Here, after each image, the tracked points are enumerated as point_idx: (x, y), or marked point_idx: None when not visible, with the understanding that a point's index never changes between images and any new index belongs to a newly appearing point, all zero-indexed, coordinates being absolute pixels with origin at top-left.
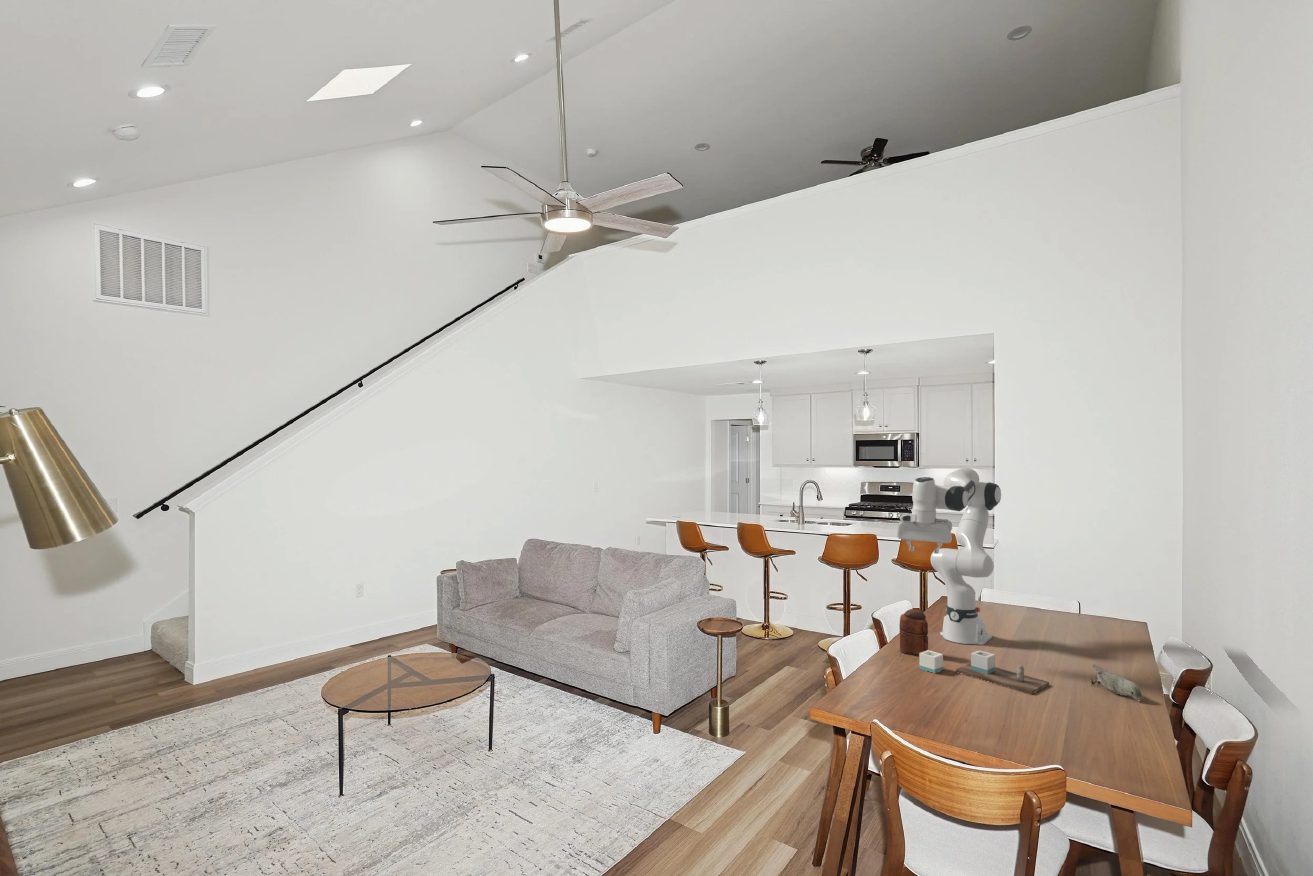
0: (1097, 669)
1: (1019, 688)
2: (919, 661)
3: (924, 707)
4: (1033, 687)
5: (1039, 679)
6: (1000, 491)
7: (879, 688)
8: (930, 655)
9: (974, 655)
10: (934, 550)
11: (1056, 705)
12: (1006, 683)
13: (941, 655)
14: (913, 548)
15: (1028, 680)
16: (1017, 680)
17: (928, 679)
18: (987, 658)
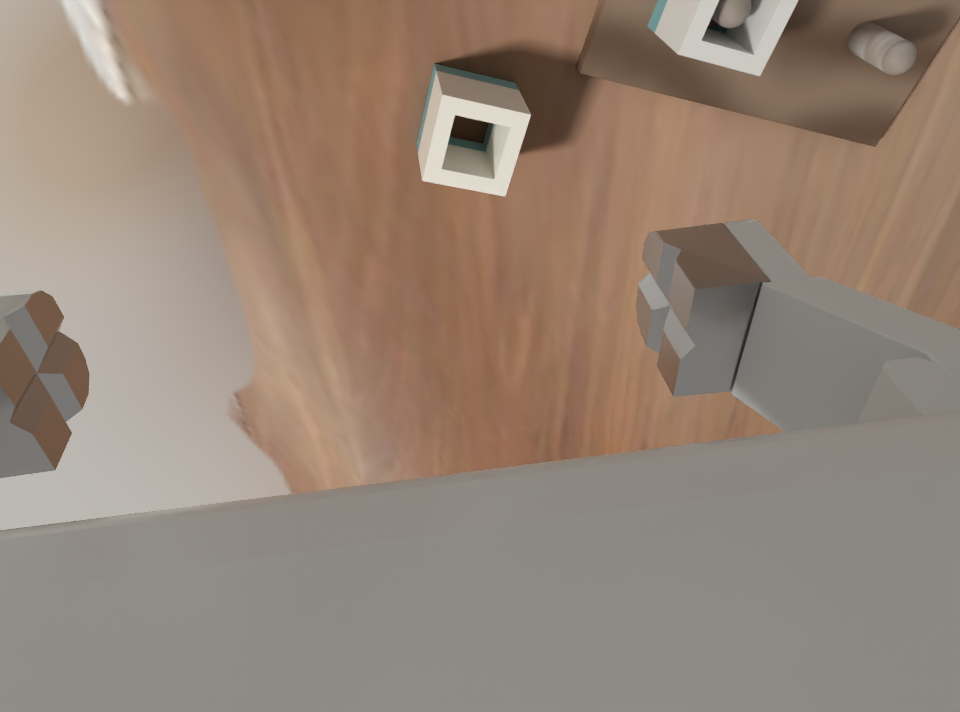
0: None
1: (834, 135)
2: (419, 161)
3: (535, 445)
4: (896, 93)
5: None
6: None
7: (376, 416)
8: (480, 179)
9: (694, 57)
10: (672, 370)
11: (926, 189)
12: (792, 121)
13: (525, 130)
14: (34, 370)
15: (902, 4)
16: (848, 49)
17: (487, 240)
18: (758, 74)
